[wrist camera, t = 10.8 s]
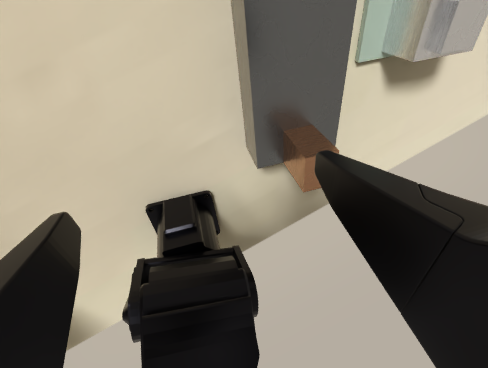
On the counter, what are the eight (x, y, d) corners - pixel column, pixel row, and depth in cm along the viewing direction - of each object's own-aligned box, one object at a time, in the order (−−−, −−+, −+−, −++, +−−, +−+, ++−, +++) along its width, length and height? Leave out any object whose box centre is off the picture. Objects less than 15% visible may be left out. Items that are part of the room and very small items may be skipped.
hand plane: (316, 132, 25) (361, 177, 20) (246, 147, 24) (273, 199, 19) (357, -326, 11) (564, -641, 5) (195, -329, 10) (241, -710, 5)
